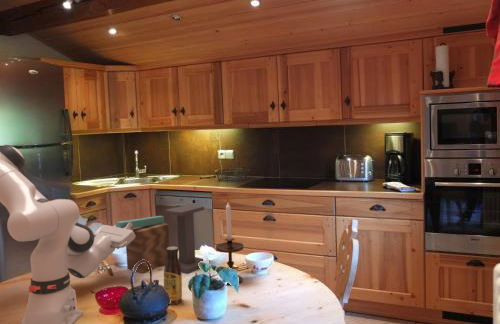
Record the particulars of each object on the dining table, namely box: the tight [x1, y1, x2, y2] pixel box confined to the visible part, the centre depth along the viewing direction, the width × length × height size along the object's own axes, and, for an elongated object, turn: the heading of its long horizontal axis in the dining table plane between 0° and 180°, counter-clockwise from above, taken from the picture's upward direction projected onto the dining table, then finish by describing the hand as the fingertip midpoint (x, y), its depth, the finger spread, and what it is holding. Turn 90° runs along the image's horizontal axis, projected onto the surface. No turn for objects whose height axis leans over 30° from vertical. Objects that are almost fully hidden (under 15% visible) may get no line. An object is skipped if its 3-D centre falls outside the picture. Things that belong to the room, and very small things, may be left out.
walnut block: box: [125, 222, 170, 274], centre depth 203 cm, size 16×10×18 cm, turn 142°
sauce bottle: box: [163, 245, 183, 305], centre depth 163 cm, size 6×6×20 cm
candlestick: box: [215, 195, 245, 287], centre depth 180 cm, size 11×11×35 cm
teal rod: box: [115, 215, 165, 229], centre depth 200 cm, size 24×3×3 cm, turn 143°
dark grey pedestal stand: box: [164, 204, 205, 275], centre depth 201 cm, size 14×14×26 cm
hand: (127, 222), depth 194 cm, fingers open, 3 cm apart
